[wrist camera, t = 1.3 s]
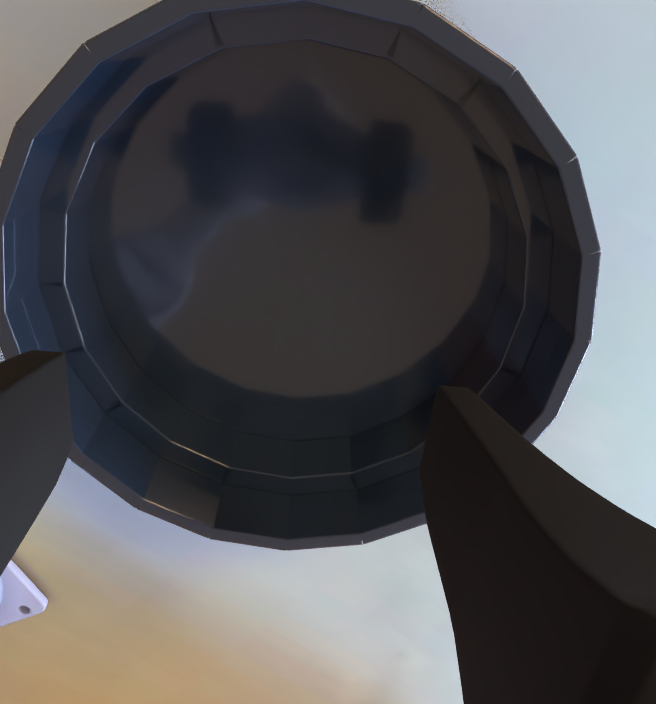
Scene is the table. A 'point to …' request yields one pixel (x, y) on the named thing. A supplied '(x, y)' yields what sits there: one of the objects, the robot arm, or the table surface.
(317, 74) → the dark round bowl
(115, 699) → the table surface
